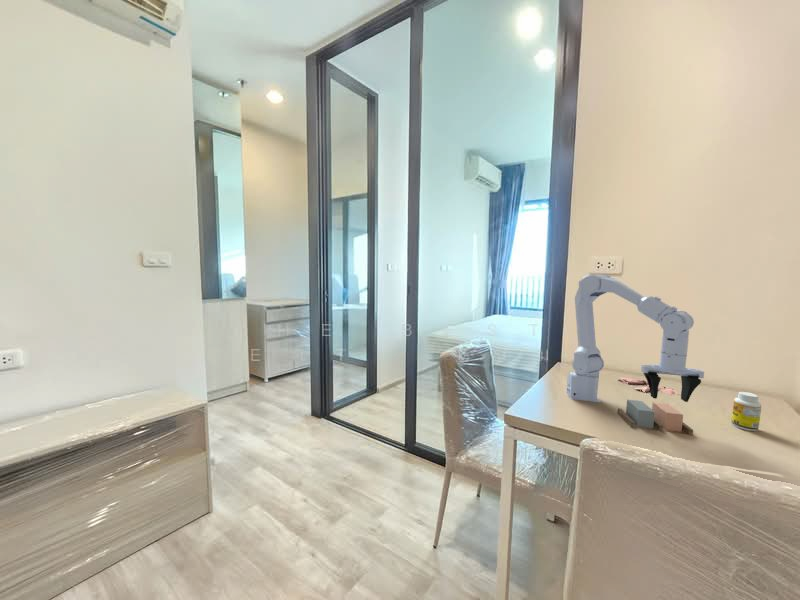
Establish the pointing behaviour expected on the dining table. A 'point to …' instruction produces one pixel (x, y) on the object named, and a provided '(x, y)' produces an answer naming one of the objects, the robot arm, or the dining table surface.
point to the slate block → (640, 413)
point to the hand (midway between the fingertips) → (668, 398)
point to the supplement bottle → (746, 411)
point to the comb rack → (656, 426)
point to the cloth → (646, 384)
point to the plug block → (668, 416)
